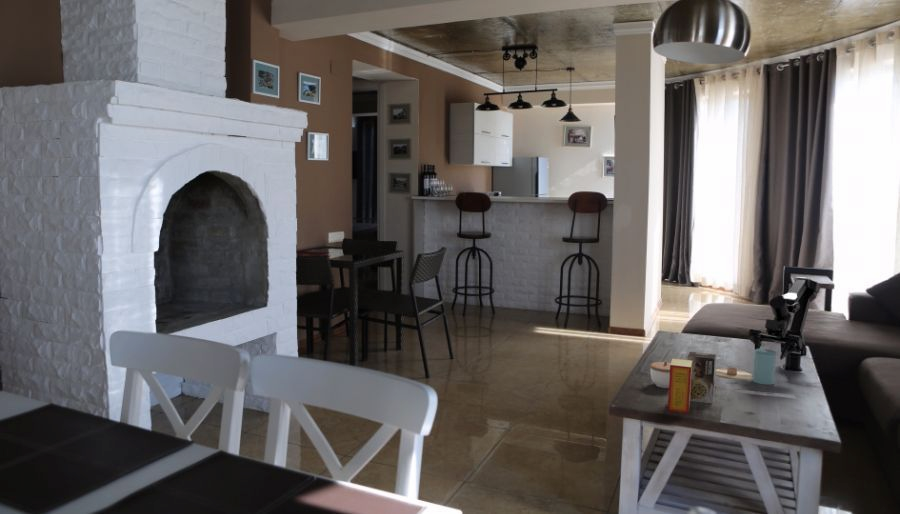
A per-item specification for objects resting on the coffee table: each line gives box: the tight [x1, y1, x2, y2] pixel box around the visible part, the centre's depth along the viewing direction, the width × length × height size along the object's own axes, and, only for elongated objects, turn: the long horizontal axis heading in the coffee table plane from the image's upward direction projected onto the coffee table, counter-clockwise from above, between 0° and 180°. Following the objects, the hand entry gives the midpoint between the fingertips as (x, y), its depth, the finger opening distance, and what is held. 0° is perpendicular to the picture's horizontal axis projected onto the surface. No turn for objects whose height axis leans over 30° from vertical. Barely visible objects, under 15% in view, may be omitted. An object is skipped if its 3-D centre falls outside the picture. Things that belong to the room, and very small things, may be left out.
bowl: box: [726, 366, 738, 375], centre depth 273 cm, size 4×4×3 cm
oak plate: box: [715, 368, 753, 381], centre depth 273 cm, size 15×15×1 cm
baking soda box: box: [667, 357, 692, 414], centre depth 234 cm, size 10×6×16 cm
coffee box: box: [687, 351, 717, 405], centre depth 243 cm, size 9×6×16 cm
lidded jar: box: [650, 360, 671, 389], centre depth 259 cm, size 11×11×9 cm
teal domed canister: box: [752, 348, 777, 385], centre depth 263 cm, size 7×7×13 cm
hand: (768, 356), depth 265 cm, fingers open, 9 cm apart
